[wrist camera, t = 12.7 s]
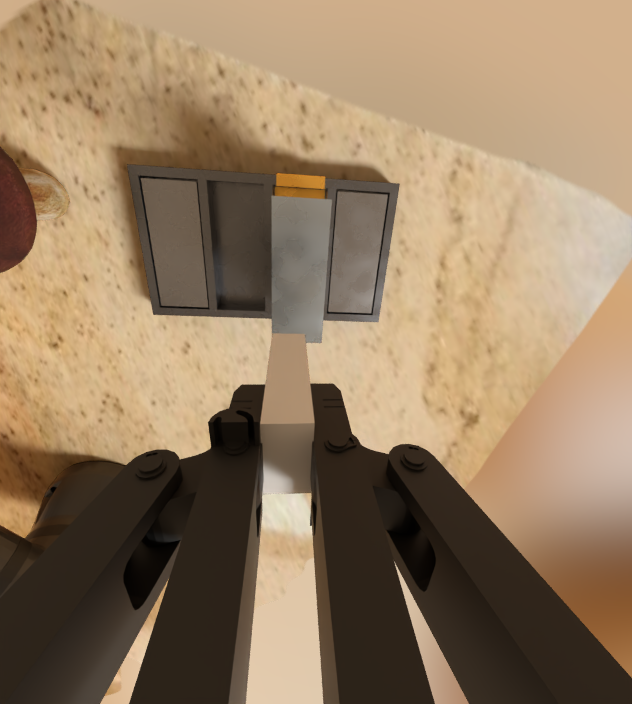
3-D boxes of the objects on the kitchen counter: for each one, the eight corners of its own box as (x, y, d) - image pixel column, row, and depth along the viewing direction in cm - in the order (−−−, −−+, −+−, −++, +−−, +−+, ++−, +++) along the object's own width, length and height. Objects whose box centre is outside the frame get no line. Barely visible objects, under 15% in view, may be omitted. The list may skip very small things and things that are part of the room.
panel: (278, 299, 36) (271, 341, 25) (279, 196, 31) (271, 195, 21) (313, 300, 36) (321, 343, 25) (318, 199, 32) (331, 199, 21)
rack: (162, 307, 36) (150, 317, 33) (139, 165, 30) (122, 161, 27) (373, 314, 38) (380, 324, 35) (392, 183, 32) (402, 182, 29)
